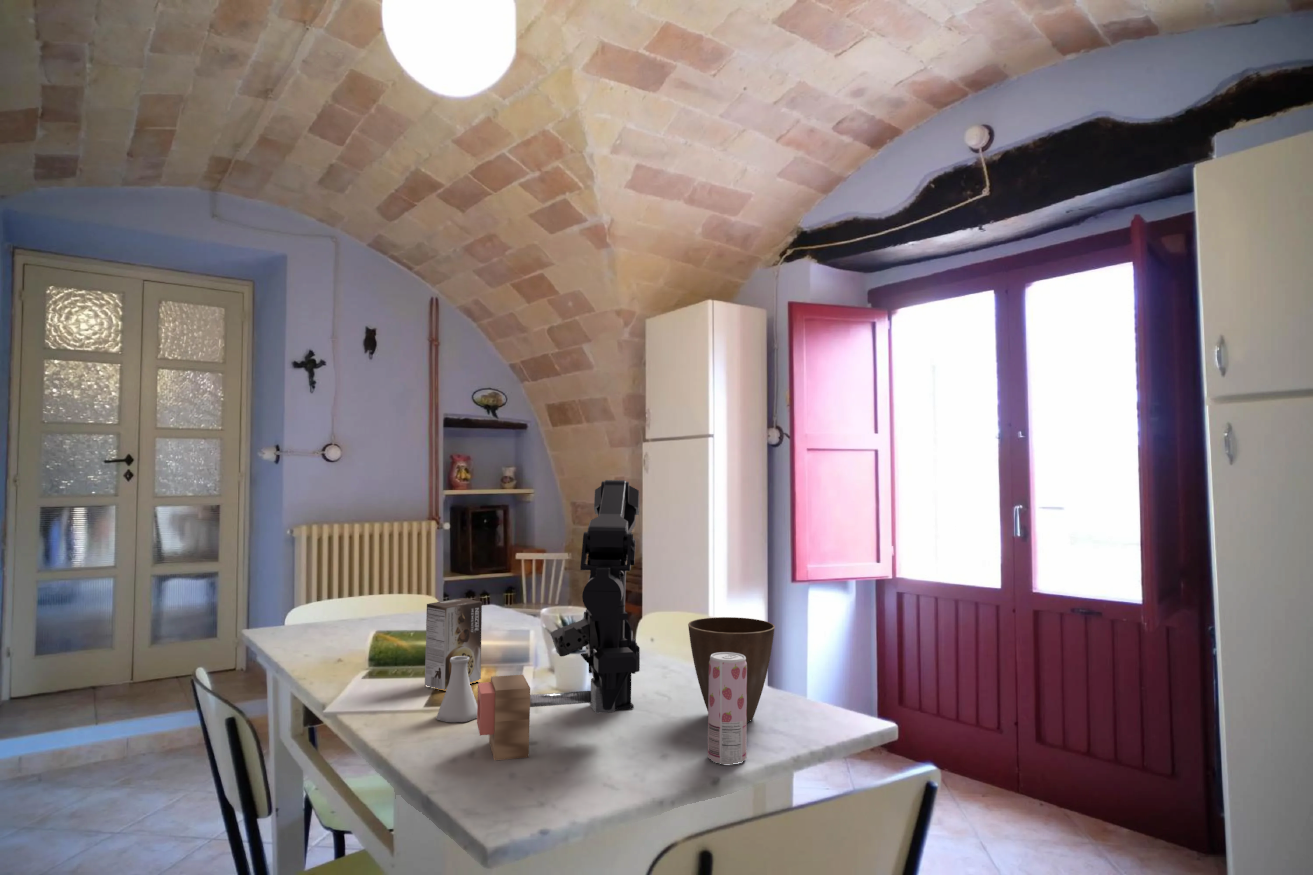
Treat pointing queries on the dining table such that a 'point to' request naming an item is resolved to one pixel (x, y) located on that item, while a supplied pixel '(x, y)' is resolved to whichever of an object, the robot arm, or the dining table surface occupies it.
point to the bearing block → (510, 717)
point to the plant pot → (737, 638)
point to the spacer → (485, 708)
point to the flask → (458, 694)
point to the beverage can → (727, 708)
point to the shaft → (573, 698)
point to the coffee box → (452, 639)
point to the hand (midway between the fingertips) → (604, 705)
